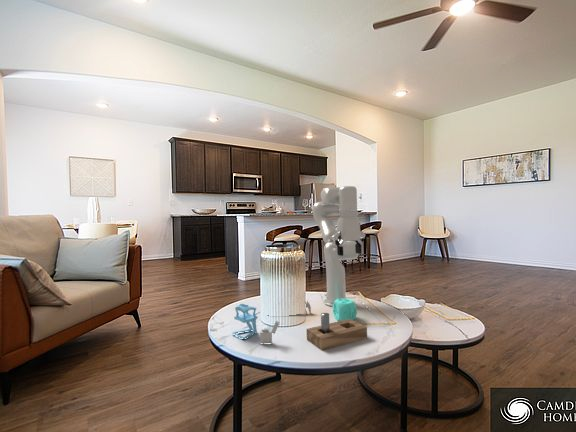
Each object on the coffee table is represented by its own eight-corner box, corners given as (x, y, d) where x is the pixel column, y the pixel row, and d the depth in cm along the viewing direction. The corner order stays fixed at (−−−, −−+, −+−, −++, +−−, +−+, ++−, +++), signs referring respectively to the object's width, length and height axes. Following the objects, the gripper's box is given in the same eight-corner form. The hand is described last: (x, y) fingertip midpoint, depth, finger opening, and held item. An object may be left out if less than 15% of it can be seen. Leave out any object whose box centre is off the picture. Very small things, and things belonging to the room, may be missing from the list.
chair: (260, 334, 117) (260, 303, 117) (243, 340, 111) (242, 308, 111) (249, 329, 122) (248, 299, 122) (231, 335, 117) (231, 304, 117)
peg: (320, 340, 109) (319, 313, 109) (326, 339, 110) (326, 312, 110) (324, 344, 106) (323, 316, 106) (331, 342, 108) (330, 314, 108)
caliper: (310, 313, 140) (310, 300, 140) (310, 314, 139) (310, 300, 139) (266, 315, 139) (266, 301, 139) (266, 316, 138) (266, 302, 138)
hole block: (306, 339, 111) (306, 328, 111) (350, 328, 119) (349, 318, 119) (321, 350, 102) (321, 338, 102) (367, 337, 111) (366, 327, 111)
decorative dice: (339, 323, 126) (339, 304, 126) (332, 316, 134) (332, 299, 134) (357, 321, 128) (356, 302, 128) (349, 315, 136) (348, 297, 135)
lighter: (260, 344, 108) (259, 322, 108) (260, 342, 109) (260, 320, 109) (279, 344, 107) (279, 322, 107) (280, 342, 109) (279, 320, 109)
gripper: (358, 214, 137) (359, 251, 137) (326, 215, 129) (328, 255, 129) (369, 214, 130) (370, 253, 130) (337, 215, 122) (338, 257, 122)
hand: (349, 254), depth 129 cm, fingers open, 9 cm apart
